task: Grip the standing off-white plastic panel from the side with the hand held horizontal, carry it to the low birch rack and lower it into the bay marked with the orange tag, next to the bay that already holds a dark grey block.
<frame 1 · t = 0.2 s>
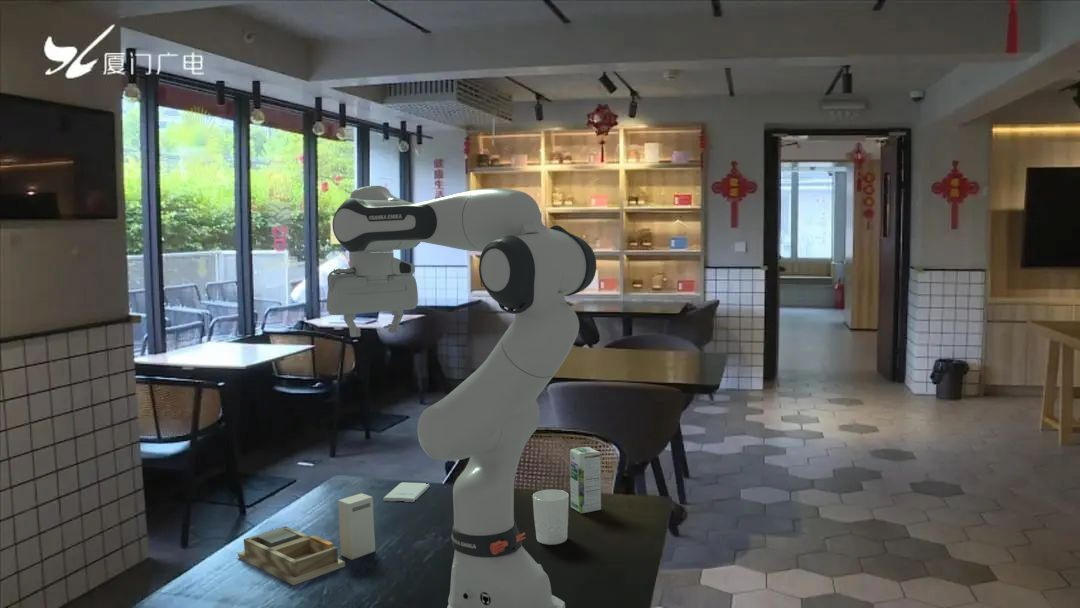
hand: (374, 334, 177), 47 cm above the table, tool pointing down, fingers open, 8 cm apart
external hard drive: (407, 496, 225), on the table
syrup box: (586, 509, 209), on the table
panel: (358, 553, 185), on the table
white cup: (551, 540, 190), on the table
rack: (290, 561, 181), on the table
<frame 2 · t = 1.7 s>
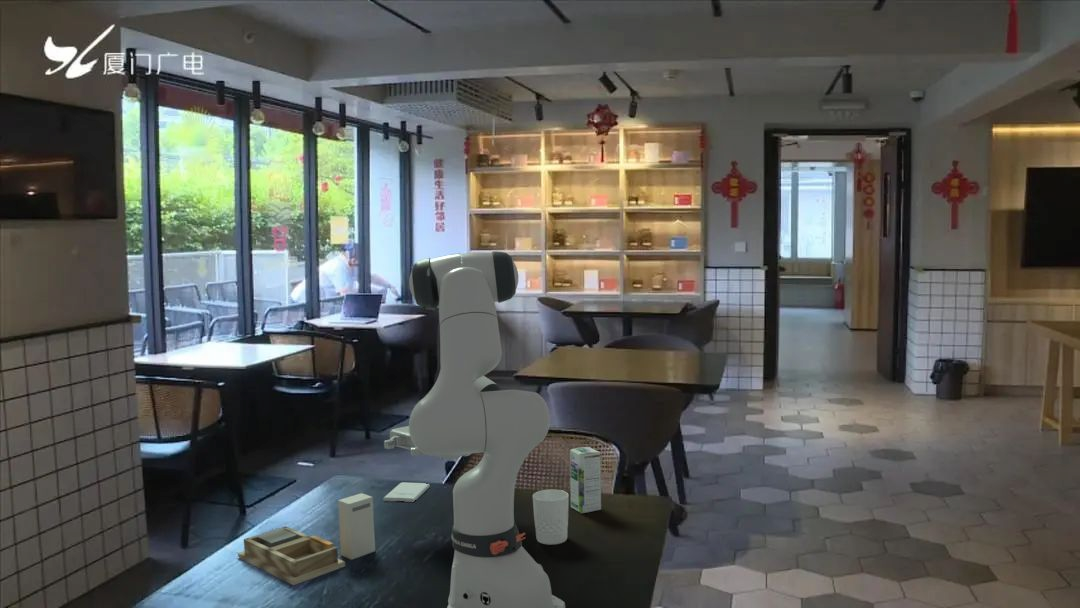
hand: (398, 448, 192), 20 cm above the table, tool horizontal, fingers open, 8 cm apart
nothing on the table moved.
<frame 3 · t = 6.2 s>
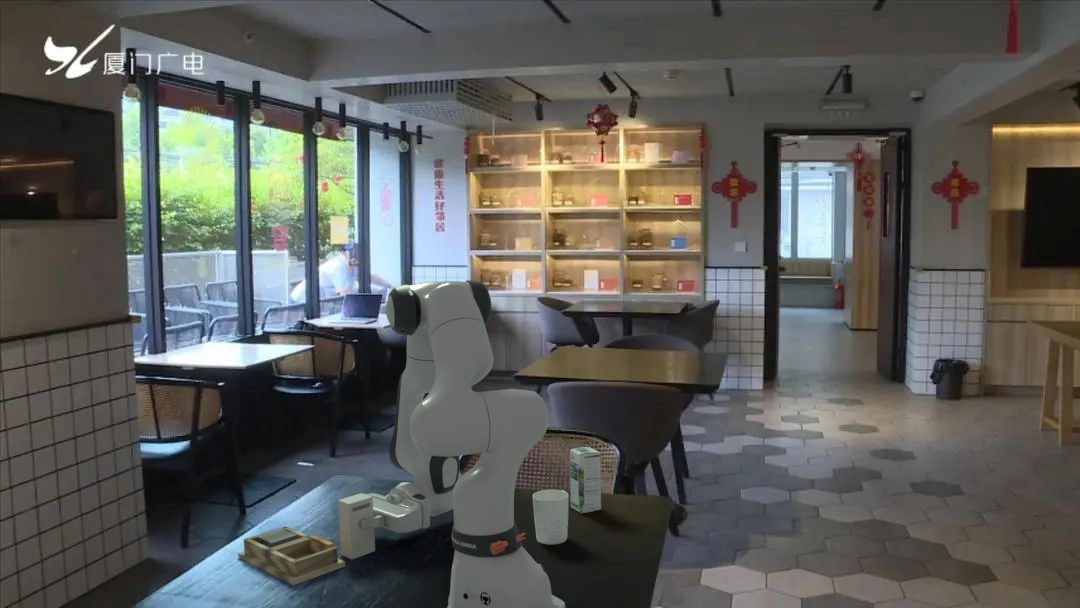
hand: (353, 522, 184), 7 cm above the table, tool horizontal, fingers closed on panel, 4 cm apart
panel: (358, 552, 185), on the table, touching gripper
everything else where it was.
when the fingers open (9 cm above the table, at t = 11.9 s): panel stays where it is, resting on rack.
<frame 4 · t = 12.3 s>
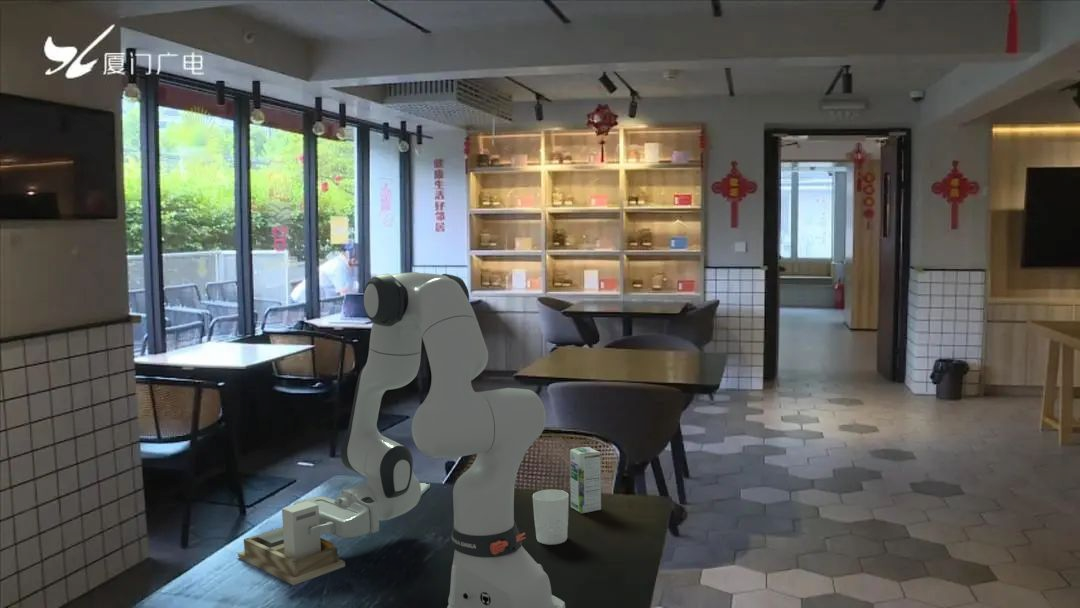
hand: (297, 526, 176), 9 cm above the table, tool horizontal, fingers open, 8 cm apart
panel: (303, 563, 178), point 1 cm above the table, touching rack
everything else where it was.
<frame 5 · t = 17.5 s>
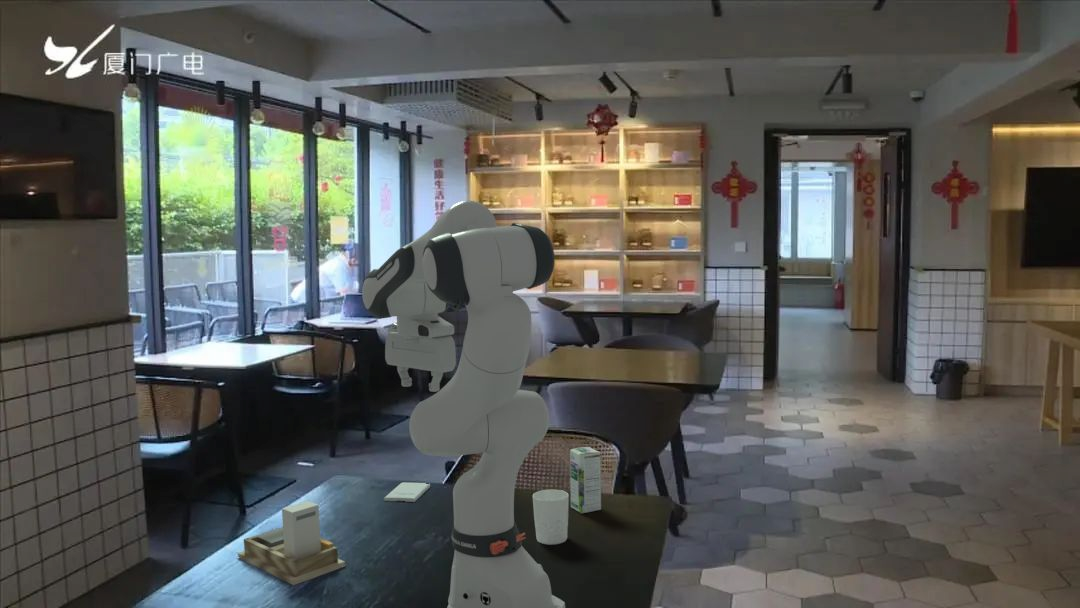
hand: (420, 388, 188), 34 cm above the table, tool pointing down, fingers open, 8 cm apart
nothing on the table moved.
at the end: panel 0.0 cm from the target spot on the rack, point 1.0 cm above the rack's base; panel tilted 0°; the gripper is holding nothing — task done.
